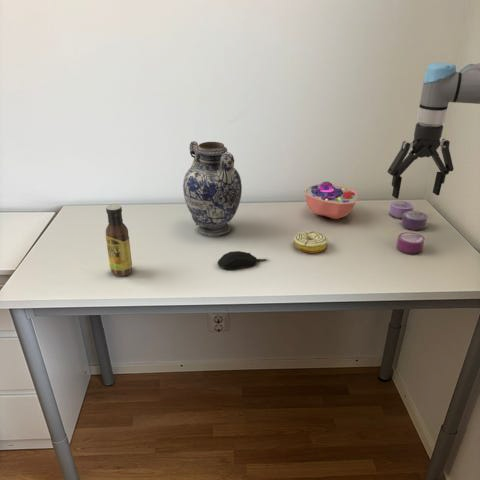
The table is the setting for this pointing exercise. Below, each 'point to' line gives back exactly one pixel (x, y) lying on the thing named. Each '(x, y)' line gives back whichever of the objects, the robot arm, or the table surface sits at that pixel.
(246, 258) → the gaming mouse
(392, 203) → the dish
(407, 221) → the dish middle
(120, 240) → the sauce bottle
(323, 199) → the cell model
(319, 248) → the decorated donut
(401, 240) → the dish
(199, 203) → the decorative vase
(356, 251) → the table surface
